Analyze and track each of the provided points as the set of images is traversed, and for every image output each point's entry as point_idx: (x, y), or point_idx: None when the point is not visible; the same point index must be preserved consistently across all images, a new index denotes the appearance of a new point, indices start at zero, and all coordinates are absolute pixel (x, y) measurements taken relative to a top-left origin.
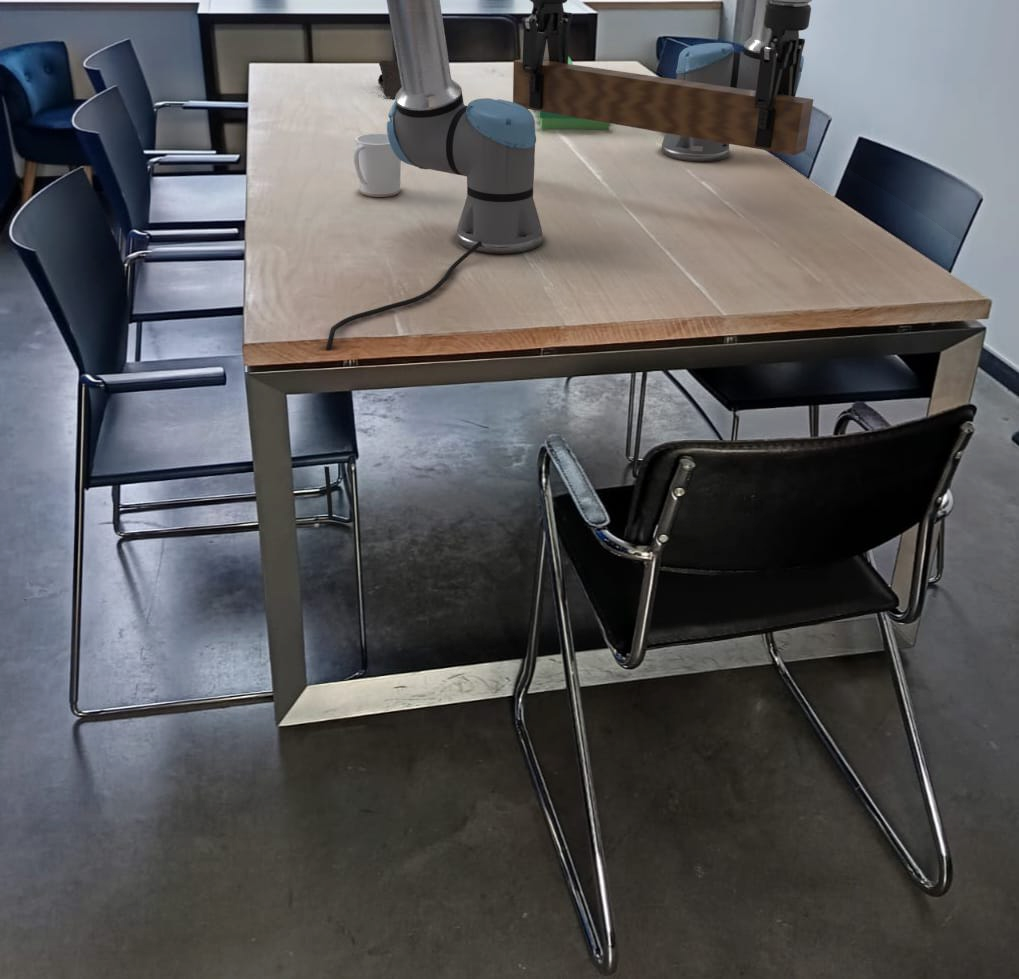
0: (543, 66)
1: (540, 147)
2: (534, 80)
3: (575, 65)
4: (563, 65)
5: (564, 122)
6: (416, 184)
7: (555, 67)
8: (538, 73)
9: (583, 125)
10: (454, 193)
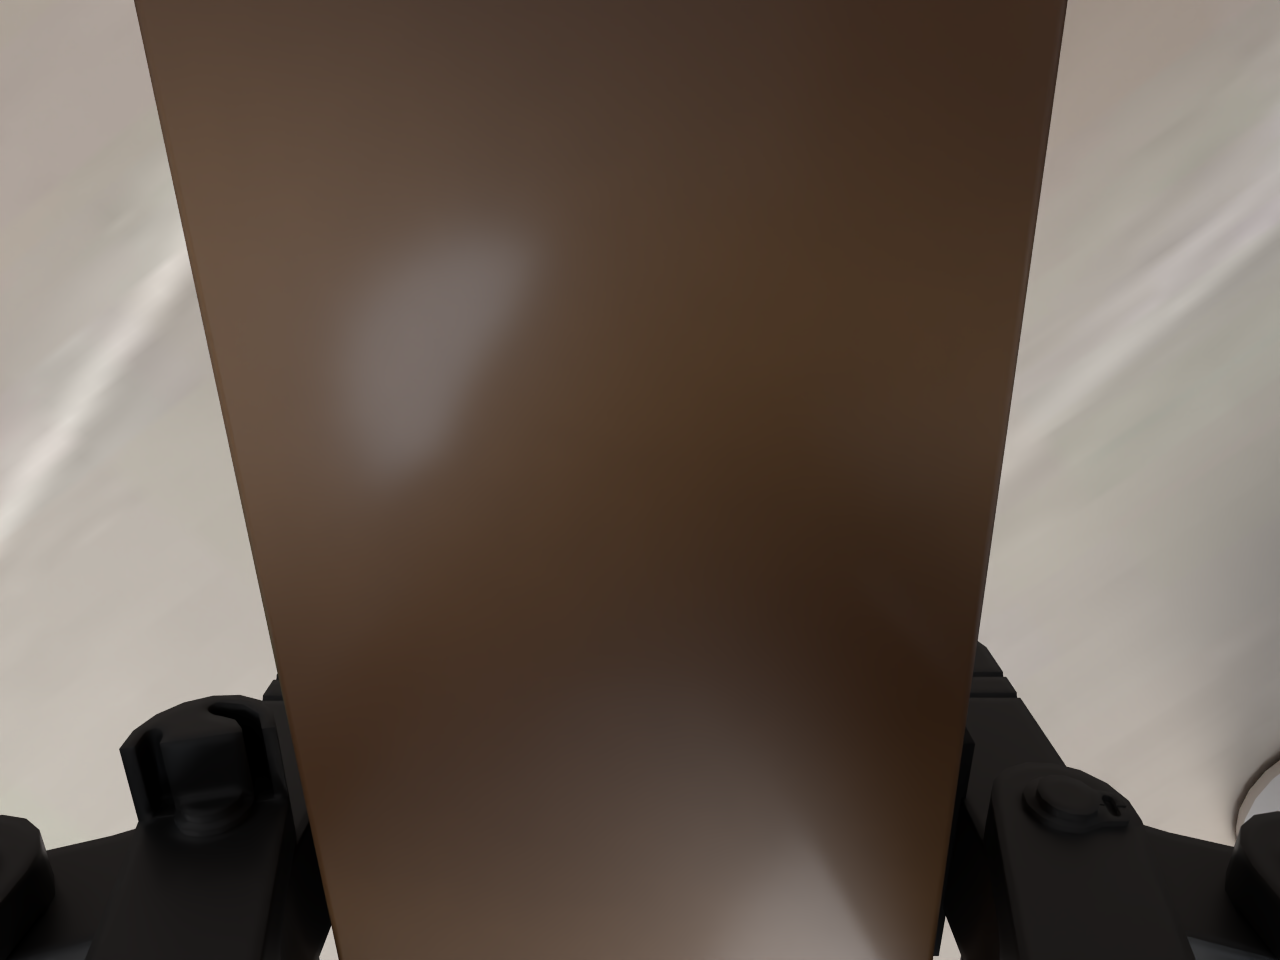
0: (936, 886)
1: (82, 761)
2: (1044, 745)
3: (292, 276)
4: (595, 558)
5: None
6: (1119, 775)
7: (987, 569)
8: (1084, 783)
9: None
10: (1163, 554)
